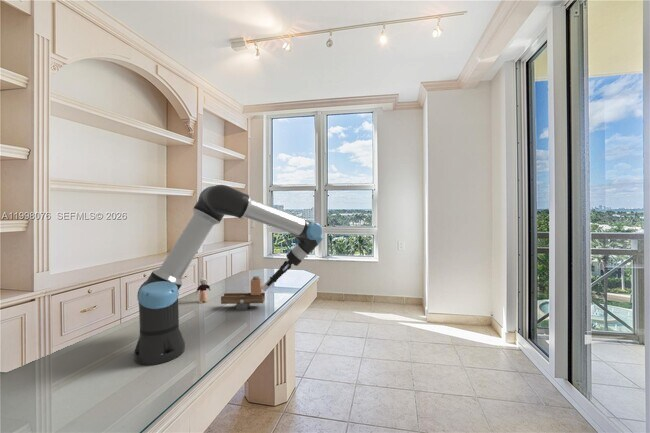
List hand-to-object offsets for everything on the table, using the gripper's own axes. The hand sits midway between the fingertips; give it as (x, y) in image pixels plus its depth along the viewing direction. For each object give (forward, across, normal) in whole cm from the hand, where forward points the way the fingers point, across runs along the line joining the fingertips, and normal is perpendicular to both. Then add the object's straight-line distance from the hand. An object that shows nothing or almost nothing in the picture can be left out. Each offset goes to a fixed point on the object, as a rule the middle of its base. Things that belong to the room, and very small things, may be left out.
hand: (263, 289), depth 149 cm
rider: (+5, 0, 0) cm, 5 cm away
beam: (+13, 0, +1) cm, 13 cm away
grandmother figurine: (+30, +10, +17) cm, 36 cm away
